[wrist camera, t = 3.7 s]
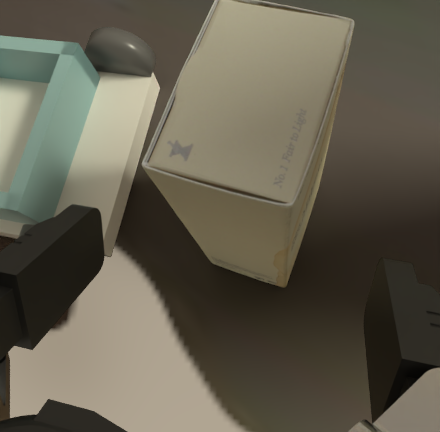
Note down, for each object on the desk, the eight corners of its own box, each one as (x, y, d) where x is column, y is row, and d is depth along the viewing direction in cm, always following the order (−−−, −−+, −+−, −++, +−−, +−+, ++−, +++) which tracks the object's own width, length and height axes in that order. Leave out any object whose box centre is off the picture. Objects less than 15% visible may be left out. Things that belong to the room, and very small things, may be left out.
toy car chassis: (163, 75, 26) (141, 23, 22) (106, 273, 23) (67, 255, 19) (-27, 55, 29) (-79, 5, 25) (-104, 230, 26) (-180, 206, 21)
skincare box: (286, 290, 22) (296, 222, 10) (206, 262, 22) (132, 171, 11) (321, 181, 23) (365, 15, 12) (245, 160, 24) (215, -13, 13)
